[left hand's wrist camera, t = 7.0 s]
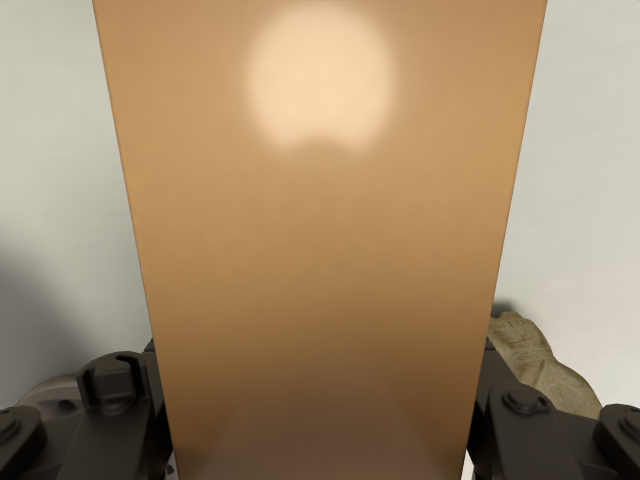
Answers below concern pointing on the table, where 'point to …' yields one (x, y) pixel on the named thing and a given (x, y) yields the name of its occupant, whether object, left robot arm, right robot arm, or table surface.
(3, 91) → the table surface
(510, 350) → the sculpture
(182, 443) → the bar
